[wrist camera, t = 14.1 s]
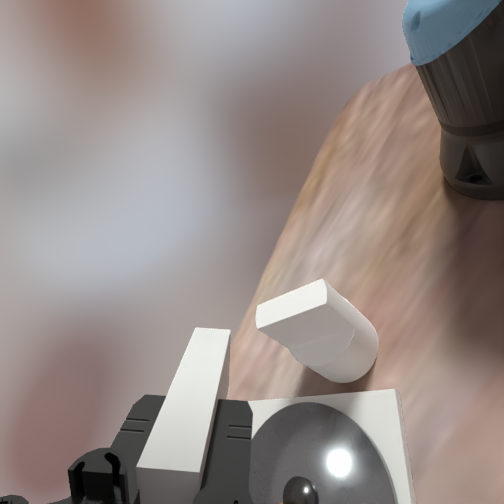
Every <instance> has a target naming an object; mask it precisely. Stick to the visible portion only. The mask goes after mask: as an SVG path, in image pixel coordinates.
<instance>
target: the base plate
mask: <svg viewBox="0 0 504 504" xmlns="http://www.w3.org/2000/svg"><path fill="white" fill-rule="evenodd" d="M302 402H315V403H321V404H325V405H327V406H330V407H333V408H335V409H336V410H338V411H340V412H342V413H344V414H346V415H347V416H349V417H350V418H351V419H353V420H354V421H355V422H357V423H358V424H359V425H360V426H361V427H362V428H363V429H364V430H365V431H366V433H367V434H368V435H369V436H370V437H371V439H372V440H373V442H374V443H375V445H376V446H377V448H378V449H379V451H380V453H381V454H382V456H383V458H384V460H385V462H386V464H387V467H388V469H389V472H390V475H391V477H392V480H393V484H394V487H395V491H396V495H397V500H398V504H416V500H415V493H414V487H413V480H412V473H411V467H410V460H409V453H408V447H407V440H406V433H405V427H404V420H403V413H402V407H401V400H400V393H399V392H398V391H397V390H396V389H388V390H376V391H364V392H353V393H341V394H329V395H317V396H306V397H294V398H282V399H270V400H259V401H248V403H249V405H250V407H251V410H252V412H253V423H252V438H253V436H254V435H255V434H256V432H257V431H258V429H259V428H260V427H261V426H262V424H263V423H264V422H265V421H266V420H267V419H268V418H269V417H271V416H272V415H273V414H274V413H276V412H277V411H279V410H280V409H282V408H285V407H287V406H289V405H292V404H295V403H302Z"/></svg>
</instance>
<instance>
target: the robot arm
mask: <svg viewBox="0 0 504 504" xmlns="http://www.w3.org/2000/svg"><path fill="white" fill-rule="evenodd" d="M402 28H403V32H404V35H405V38H406V41H407V44H408V47H409V50H410V59H411V61H412V63H413V64H414V65H415V66H416V69H417V71H418V73H419V76H420V78H421V80H422V83H423V85H424V87H425V90H426V92H427V94H428V97H429V99H430V101H431V104H432V106H433V108H434V111H435V113H436V116H437V117H438V120H439V122H440V125H441V144H440V165H441V169H442V171H443V173H444V176H445V178H446V180H447V182H448V183H449V185H450V186H451V187H452V188H453V189H455V190H456V191H458V192H459V193H461V194H463V195H466V196H469V197H473V198H478V199H486V200H501V199H504V0H408V2H407V5H406V7H405V10H404V14H403V18H402ZM230 333H231V330H225V329H211V328H195V330H194V333H193V335H192V337H191V340H190V342H189V345H188V347H187V349H186V351H185V354H184V356H183V358H182V361H181V363H180V365H179V368H178V370H177V372H176V375H175V377H174V380H173V382H172V384H171V387H170V389H169V391H168V394H167V396H158V395H144V396H143V397H142V398H141V399H140V400H139V401H138V402H136V403H135V404H134V405H133V407H132V409H131V410H130V412H129V414H128V416H127V418H126V421H124V423H123V425H122V427H121V430H120V432H118V434H117V436H116V438H115V440H114V442H113V443H112V445H111V447H110V448H99V449H96V450H93V451H91V452H88V453H86V454H84V455H83V456H81V457H80V458H79V459H77V460H76V461H75V462H74V463H73V464H72V465H71V466H70V468H69V469H68V476H69V483H70V489H71V496H70V497H69V498H67V499H63V500H61V501H57V502H53V503H49V504H254V503H253V501H252V499H251V496H250V493H249V473H250V456H251V440H252V423H253V412H252V410H251V407H250V405H249V403H248V401H238V400H226V397H227V391H228V386H229V363H230ZM0 504H29V503H28V501H27V500H26V499H25V498H23V497H22V496H16V495H8V496H4V497H0Z"/></svg>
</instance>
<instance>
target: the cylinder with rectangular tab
mask: <svg viewBox="0 0 504 504" xmlns="http://www.w3.org/2000/svg"><path fill="white" fill-rule="evenodd" d="M256 327H257V329H258V330H260V331H262V332H263V333H265V334H266V335H268V336H269V337H271V338H273V339H274V340H276V341H277V342H279V343H281V344H282V345H284V346H285V347H287V348H288V349H289V350H290V352H291V354H292V355H293V356H294V358H295V359H296V360H297V361H299V362H300V363H302V364H304V365H305V366H307V367H308V368H310V369H312V370H313V371H315V372H317V373H318V374H320V375H322V376H323V377H325V378H327V379H328V380H330V381H332V382H337V383H349V382H352V381H355V380H357V379H359V378H361V377H362V376H363V375H365V374H366V373H367V372H368V371H369V369H370V368H371V367H372V366H373V364H374V362H375V359H376V357H377V354H378V348H379V343H378V335H377V333H376V330H375V328H374V327H373V325H372V324H371V323H370V321H369V320H368V319H366V318H365V317H364V316H363V315H362V314H361V313H360V312H359V311H358V310H357V309H356V308H355V307H354V306H353V305H352V304H351V303H350V302H348V301H347V300H346V299H345V298H343V297H342V296H341V295H340V294H339V293H338V292H336V291H335V290H334V289H333V288H332V287H331V286H330V285H329V284H328V283H327V282H326V281H325V280H324V279H323V278H322V279H320V280H317V281H315V282H312V283H310V284H308V285H305V286H303V287H300V288H298V289H296V290H293V291H291V292H288V293H286V294H284V295H281V296H279V297H276V298H274V299H272V300H269V301H267V302H264V303H262V304H259V305H258V306H257V311H256Z"/></svg>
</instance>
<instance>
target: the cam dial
mask: <svg viewBox="0 0 504 504" xmlns="http://www.w3.org/2000/svg"><path fill="white" fill-rule="evenodd" d="M249 493H250V496H251V499H252V501H253V503H254V504H398V500H397V495H396V491H395V487H394V484H393V480H392V477H391V475H390V472H389V469H388V467H387V464H386V462H385V460H384V458H383V456H382V454H381V453H380V451H379V449H378V448H377V446H376V445H375V443H374V442H373V440H372V439H371V437H370V436H369V435H368V434H367V433H366V431H365V430H364V429H363V428H362V427H361V426H360V425H359V424H358V423H357V422H355V421H354V420H353V419H351V418H350V417H349V416H347V415H346V414H344V413H342V412H340V411H338V410H336V409H335V408H333V407H330V406H327V405H325V404H321V403H315V402H302V403H295V404H292V405H289V406H287V407H285V408H282V409H280V410H279V411H277V412H276V413H274V414H273V415H272V416H271V417H269V418H268V419H267V420H266V421H265V422H264V423H263V424H262V426H261V427H260V428H259V429H258V431H257V432H256V434H255V435H254V436H253V438H252V440H251V456H250V473H249Z"/></svg>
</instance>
